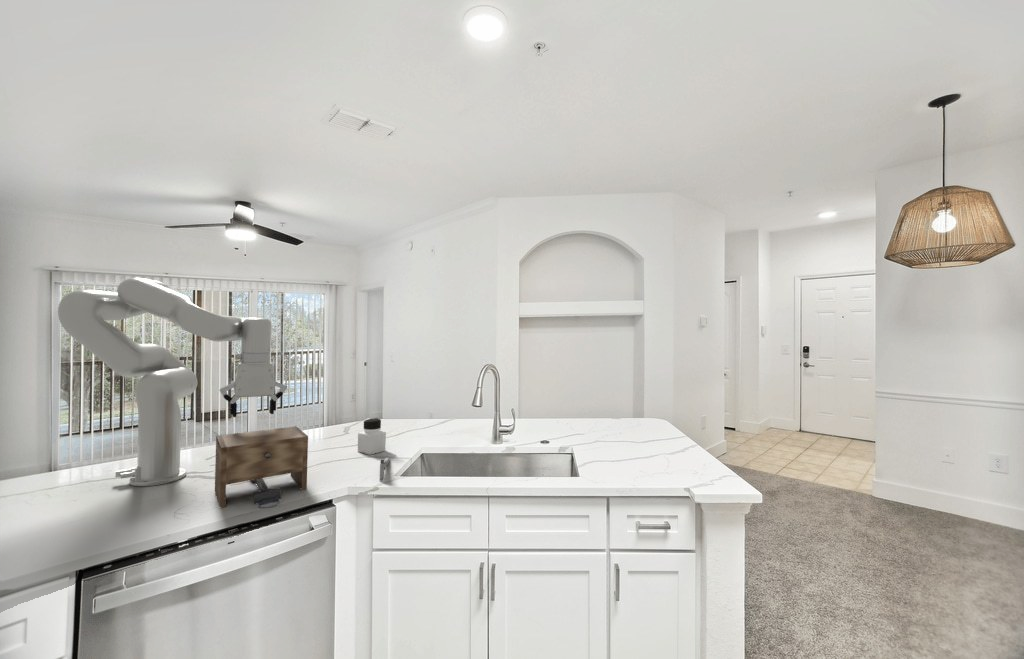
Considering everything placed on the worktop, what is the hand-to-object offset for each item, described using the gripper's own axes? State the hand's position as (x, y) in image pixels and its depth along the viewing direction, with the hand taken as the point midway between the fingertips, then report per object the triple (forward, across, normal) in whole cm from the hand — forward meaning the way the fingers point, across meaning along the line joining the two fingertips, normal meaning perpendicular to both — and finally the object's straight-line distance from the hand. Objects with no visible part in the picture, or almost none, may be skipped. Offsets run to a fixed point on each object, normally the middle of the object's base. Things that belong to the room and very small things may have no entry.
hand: (253, 414), depth 125 cm
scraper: (+18, +1, -10) cm, 21 cm away
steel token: (+19, +1, -26) cm, 32 cm away
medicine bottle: (+18, +39, +4) cm, 43 cm away
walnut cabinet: (+18, +1, -14) cm, 23 cm away
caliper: (+18, +35, -18) cm, 43 cm away
